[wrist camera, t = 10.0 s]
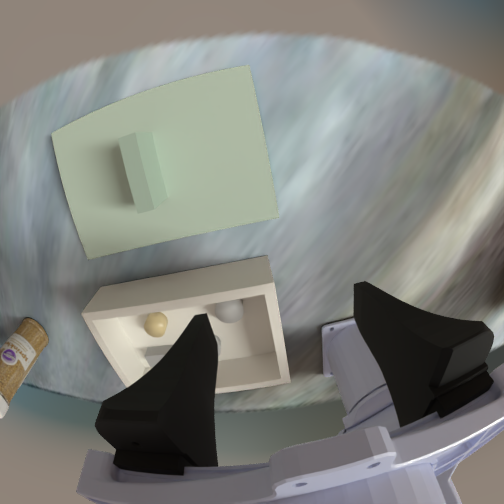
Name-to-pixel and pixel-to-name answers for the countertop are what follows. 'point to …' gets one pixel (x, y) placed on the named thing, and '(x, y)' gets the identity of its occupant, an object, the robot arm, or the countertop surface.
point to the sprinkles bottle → (19, 358)
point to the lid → (167, 164)
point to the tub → (180, 314)
